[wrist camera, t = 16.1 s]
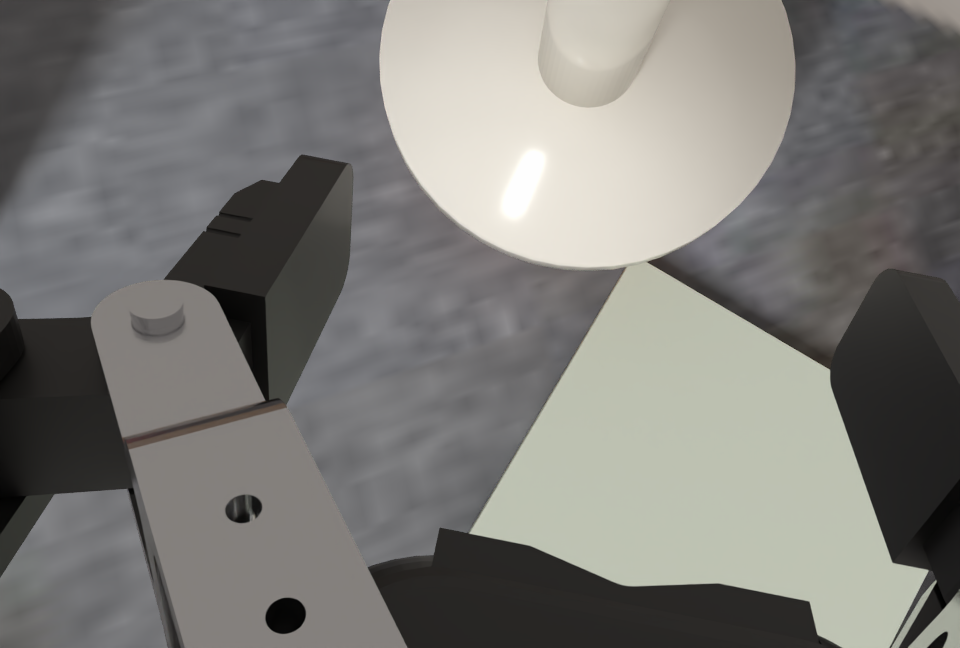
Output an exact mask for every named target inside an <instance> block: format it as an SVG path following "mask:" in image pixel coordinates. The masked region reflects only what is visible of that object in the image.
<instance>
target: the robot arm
mask: <svg viewBox="0 0 960 648" xmlns="http://www.w3.org/2000/svg"><path fill="white" fill-rule="evenodd" d="M352 197H353V169H352V166H351V164H349V163H344V162H339V161H334V160H328V159H323V158H318V157H313V156H307V155H301V156H299V157H298V159H297V160H296V161H295V163H294V164H293V165H292V167H291V168H290V169H289V171H288V172H287V173H286V175H285V176H284V177H283V179H282V180H281V182H280V183H276V182H270V181H265V180H260V181H258V182H256V183H254V184H252V185H250V186H248V187H246V188H244V189H242V190H240V191H239V192H237V193H235V194H234V195H233V196H232V197H231V199H230V200H229V201H228V202H227V203H226V205H225V206H224V207H223V208H222V209H221V211H220V212H219V216H216V217H215V218H214V219H213V220H212V222H211V223H210V224H209V225H208V226H207V230H206V232H205V231H203V232H202V234H201V235H200V236H199V237H198V238H197V240H196V241H195V242H194V243H193V245H192V246H191V247H190V248H189V249H188V251H187V252H186V253H185V254H184V255H183V257H182V258H181V259H180V260H179V261H178V263H177V264H176V265H175V266H174V268H173V269H172V270H171V271H170V272H169V274H168V275H167V276H166V277H165V278H164V280H153V281H145V282H141V283H136V284H133V285H130V286H126V287H124V288H122V289H119V290H117V291H115V292H113V293H112V294H110V295H109V296H107V297H106V298H105V299H103V300H102V301H101V302H100V303H99V304H98V306H97V307H96V308H95V310H94V312H93V314H92V317H84V318H53V319H18V318H17V315H16V311H15V308H14V305H13V301H12V299H11V298H10V296H9V295H8V294H7V293H6V292H5V291H4V290H2V289H0V577H1V576H2V574H3V572H4V571H5V569H6V568H7V566H8V565H9V563H10V562H11V560H12V559H13V557H14V555H15V554H16V552H17V551H18V549H19V548H20V546H21V545H22V543H23V542H24V540H25V539H26V537H27V535H28V534H29V532H30V531H31V529H32V528H33V526H34V525H35V523H36V522H37V520H38V518H39V517H40V515H41V514H42V512H43V511H44V509H45V508H46V506H47V505H48V503H49V502H50V500H51V498H52V497H53V495H54V494H60V493H74V492H87V491H101V490H115V489H127V492H128V496H129V500H130V504H131V507H132V511H133V515H134V518H135V522H136V526H137V530H138V533H139V537H140V541H141V545H142V548H143V552H144V556H145V560H146V563H147V567H148V571H149V574H150V578H151V582H152V586H153V589H154V593H155V597H156V601H157V605H158V608H159V612H160V616H161V621H162V625H163V629H164V633H165V637H166V642H167V646H168V648H842V647H840V646H838V645H837V644H835V643H833V642H831V641H829V640H828V639H825V638H823V637H821V636H819V635H817V631H816V626H815V622H814V618H813V614H812V610H811V605H810V601H805V600H800V599H795V598H790V597H784V596H779V595H774V594H769V593H764V592H759V591H754V590H749V589H744V588H739V587H734V586H729V585H724V584H719V583H712V584H685V585H657V586H625V585H620V584H618V583H615V582H612V581H610V580H608V579H606V578H603V577H601V576H599V575H596V574H594V573H592V572H589V571H587V570H585V569H582V568H580V567H578V566H576V565H573V564H571V563H569V562H566V561H564V560H562V559H559V558H557V557H555V556H553V555H550V554H548V553H546V552H543V551H541V550H539V549H536V548H534V547H532V546H529V545H524V544H519V543H514V542H509V541H504V540H499V539H494V538H489V537H484V536H479V535H474V534H469V533H464V532H459V531H454V530H449V529H444V528H440V529H439V534H438V538H437V543H436V548H435V553H434V555H430V556H413V557H407V558H400V559H394V560H390V561H387V562H383V563H379V564H376V565H372V566H370V567H367V566H366V564H365V562H364V560H363V558H362V556H361V554H360V552H359V550H358V547H357V545H356V543H355V541H354V539H353V537H352V535H351V533H350V531H349V529H348V527H347V525H346V523H345V521H344V519H343V517H342V515H341V513H340V511H339V509H338V507H337V505H336V503H335V501H334V499H333V497H332V495H331V493H330V491H329V489H328V487H327V485H326V483H325V481H324V479H323V477H322V475H321V473H320V471H319V469H318V467H317V465H316V463H315V461H314V459H313V457H312V455H311V453H310V451H309V449H308V447H307V445H306V443H305V441H304V439H303V437H302V435H301V433H300V431H299V429H298V427H297V425H296V423H295V421H294V419H293V417H292V415H291V413H290V411H289V409H288V408H287V406H286V405H287V402H288V400H289V398H290V396H291V394H292V392H293V390H294V388H295V386H296V384H297V382H298V380H299V378H300V376H301V374H302V371H303V369H304V367H305V365H306V363H307V361H308V359H309V357H310V355H311V353H312V351H313V349H314V347H315V345H316V343H317V340H318V338H319V336H320V334H321V332H322V330H323V328H324V326H325V324H326V322H327V320H328V318H329V316H330V314H331V312H332V309H333V307H334V305H335V303H336V301H337V299H338V297H339V295H340V293H341V291H342V288H343V285H344V282H345V279H346V275H347V270H348V265H349V257H350V242H351V220H352ZM830 383H831V388H832V391H833V394H834V397H835V400H836V403H837V406H838V409H839V411H840V414H841V417H842V420H843V423H844V426H845V429H846V432H847V434H848V437H849V440H850V443H851V446H852V449H853V452H854V454H855V457H856V460H857V463H858V466H859V469H860V472H861V474H862V477H863V480H864V483H865V486H866V489H867V492H868V494H869V497H870V500H871V503H872V506H873V509H874V512H875V515H876V517H877V520H878V523H879V526H880V529H881V532H882V535H883V537H884V540H885V543H886V546H887V549H888V552H889V555H890V557H891V560H892V563H895V564H900V565H905V566H910V567H915V568H920V569H925V570H930V571H933V573H934V575H935V578H936V580H935V582H934V583H933V584H932V585H931V586H930V587H929V588H928V590H927V591H926V592H925V593H924V594H923V595H922V597H921V598H920V600H919V602H918V604H917V605H916V607H915V609H914V610H913V612H912V614H911V616H910V617H909V619H908V621H907V622H906V624H905V626H904V627H903V629H902V631H901V633H900V634H899V636H898V638H897V639H896V641H895V643H894V644H893V646H892V648H960V303H959V301H958V300H957V298H956V296H955V295H954V293H953V292H952V290H951V288H950V287H949V285H948V284H947V283H946V281H945V280H943V279H941V278H937V277H932V276H926V275H921V274H916V273H911V272H906V271H900V270H895V269H887V270H885V271H883V272H882V273H881V274H879V275H878V277H877V278H876V279H875V281H874V282H873V284H872V286H871V288H870V289H869V291H868V293H867V295H866V296H865V298H864V300H863V302H862V304H861V305H860V307H859V309H858V311H857V312H856V314H855V316H854V318H853V320H852V321H851V323H850V325H849V327H848V329H847V330H846V332H845V334H844V336H843V337H842V339H841V341H840V343H839V345H838V346H837V348H836V351H835V353H834V356H833V359H832V363H831V370H830Z"/></svg>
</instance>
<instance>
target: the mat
mask: <svg viewBox="0 0 960 648" xmlns="http://www.w3.org/2000/svg"><path fill="white" fill-rule="evenodd" d="M469 534H474V535H479V536H484V537H489V538H494V539H499V540H504V541H509V542H514V543H519V544H524V545H529V546H532V547H534V548H536V549H539V550H541V551H543V552H546V553H548V554H550V555H553V556H555V557H557V558H559V559H562V560H564V561H566V562H569V563H571V564H573V565H576V566H578V567H580V568H582V569H585V570H587V571H589V572H592V573H594V574H596V575H599V576H601V577H603V578H606V579H608V580H610V581H612V582H615V583H618V584H620V585H625V586H657V585H685V584H712V583H719V584H724V585H729V586H734V587H739V588H744V589H749V590H754V591H759V592H764V593H769V594H774V595H779V596H784V597H790V598H795V599H800V600H805V601H810V605H811V610H812V614H813V618H814V622H815V626H816V631H817V635H819V636H821V637H823V638H825V639H828V640H829V641H831V642H833V643H835V644H837V645H838V646H840V647H842V648H889V647H890V645H891V643H892V641H893V639H894V637H895V635H896V633H897V631H898V629H899V627H900V625H901V623H902V622H903V620H904V618H905V616H906V614H907V612H908V610H909V608H910V606H911V604H912V602H913V600H914V598H915V596H916V594H917V592H918V590H919V588H920V586H921V584H922V582H923V580H924V579H925V577H926V575H927V573H928V571H929V570H925V569H920V568H915V567H910V566H905V565H900V564H895V563H892V560H891V557H890V555H889V552H888V549H887V546H886V543H885V540H884V537H883V535H882V532H881V529H880V526H879V523H878V520H877V517H876V515H875V512H874V509H873V506H872V503H871V500H870V497H869V494H868V492H867V489H866V486H865V483H864V480H863V477H862V474H861V472H860V469H859V466H858V463H857V460H856V457H855V454H854V452H853V449H852V446H851V443H850V440H849V437H848V434H847V432H846V429H845V426H844V423H843V420H842V417H841V414H840V411H839V409H838V406H837V403H836V400H835V397H834V394H833V391H832V388H831V383H830V370H829V369H828V368H826V367H824V366H822V365H821V364H819V363H817V362H816V361H814V360H812V359H811V358H809V357H807V356H805V355H804V354H802V353H800V352H799V351H797V350H795V349H793V348H792V347H790V346H788V345H787V344H785V343H783V342H782V341H780V340H778V339H776V338H775V337H773V336H771V335H770V334H768V333H766V332H765V331H763V330H761V329H759V328H758V327H756V326H754V325H753V324H751V323H749V322H748V321H746V320H744V319H742V318H741V317H739V316H737V315H736V314H734V313H732V312H731V311H729V310H727V309H725V308H724V307H722V306H720V305H719V304H717V303H715V302H714V301H712V300H710V299H708V298H707V297H705V296H703V295H702V294H700V293H698V292H697V291H695V290H693V289H691V288H690V287H688V286H686V285H685V284H683V283H681V282H680V281H678V280H676V279H674V278H673V277H671V276H669V275H668V274H666V273H664V272H663V271H661V270H659V269H657V268H656V267H654V266H652V265H651V264H649V263H647V262H645V263H641V264H638V265H634V266H628V267H625V269H624V271H623V272H622V274H621V276H620V278H619V279H618V281H617V283H616V284H615V286H614V288H613V289H612V291H611V293H610V294H609V296H608V298H607V300H606V301H605V303H604V305H603V306H602V308H601V310H600V311H599V313H598V315H597V316H596V318H595V320H594V321H593V323H592V325H591V327H590V328H589V330H588V332H587V333H586V335H585V337H584V338H583V340H582V342H581V343H580V345H579V347H578V348H577V350H576V352H575V354H574V355H573V357H572V359H571V360H570V362H569V364H568V365H567V367H566V369H565V370H564V372H563V374H562V376H561V377H560V379H559V381H558V382H557V384H556V386H555V387H554V389H553V391H552V392H551V394H550V396H549V397H548V399H547V401H546V403H545V404H544V406H543V408H542V409H541V411H540V413H539V414H538V416H537V418H536V419H535V421H534V423H533V424H532V426H531V428H530V430H529V431H528V433H527V435H526V436H525V438H524V440H523V441H522V443H521V445H520V446H519V448H518V450H517V452H516V453H515V455H514V457H513V458H512V460H511V462H510V463H509V465H508V467H507V468H506V470H505V472H504V473H503V475H502V477H501V479H500V480H499V482H498V484H497V485H496V487H495V489H494V490H493V492H492V494H491V495H490V497H489V499H488V500H487V502H486V504H485V506H484V507H483V509H482V511H481V512H480V514H479V516H478V517H477V519H476V521H475V522H474V524H473V526H472V528H471V529H470V531H469Z"/></svg>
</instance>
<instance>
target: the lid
mask: <svg viewBox="0 0 960 648" xmlns="http://www.w3.org/2000/svg"><path fill="white" fill-rule="evenodd" d="M379 57H380V83H381V88H382V94H383V100H384V105H385V110H386V113H387V117H388V121H389V124H390V127H391V130H392V133H393V136H394V139H395V142H396V145H397V147H398V150H399V152H400V154H401V156H402V158H403V160H404V162H405V164H406V166H407V168H408V170H409V171H410V173H411V174H412V176H413V177H414V179H415V180H416V182H417V184H418V185H419V187H420V188H421V190H422V191H423V192H424V193H425V194H426V196H427V197H428V198H429V199H430V200H431V201H432V202H433V204H434V205H435V206H436V207H437V208H438V209H439V210H440V211H441V212H442V213H443V214H444V215H445V216H446V217H448V218H449V219H450V220H451V221H452V222H453V223H454V224H456V225H457V226H458V227H459V228H460V229H462V230H463V231H465V232H466V233H468V234H469V235H471V236H472V237H474V238H475V239H477V240H478V241H480V242H481V243H483V244H485V245H487V246H489V247H491V248H493V249H495V250H497V251H499V252H501V253H503V254H505V255H508V256H511V257H514V258H517V259H520V260H522V261H525V262H528V263H531V264H536V265H541V266H546V267H550V268H555V269H565V270H577V271H594V270H612V269H617V268H623V267H628V266H634V265H638V264H641V263H645V262H648V261H651V260H654V259H657V258H660V257H663V256H665V255H667V254H669V253H671V252H674V251H676V250H678V249H680V248H682V247H684V246H686V245H688V244H689V243H691V242H692V241H694V240H696V239H697V238H699V237H700V236H702V235H703V234H705V233H706V232H708V231H709V230H710V229H712V228H713V227H714V226H715V225H716V224H718V223H719V222H720V221H721V220H722V219H724V218H725V217H726V216H727V215H728V214H729V213H731V212H732V211H733V210H734V209H735V208H736V207H737V206H739V205H740V204H741V202H742V201H743V200H744V199H745V198H746V197H747V196H748V194H749V193H750V192H751V191H752V190H753V189H754V188H755V186H756V185H757V184H758V182H759V181H760V179H761V178H762V176H763V175H764V173H765V172H766V170H767V169H768V167H769V166H770V164H771V163H772V161H773V158H774V156H775V154H776V152H777V150H778V148H779V146H780V144H781V142H782V140H783V136H784V133H785V130H786V127H787V124H788V121H789V117H790V114H791V108H792V102H793V96H794V90H795V55H794V46H793V37H792V33H791V29H790V25H789V21H788V17H787V13H786V11H785V8H784V5H783V3H782V0H390V2H389V5H388V8H387V13H386V17H385V21H384V25H383V29H382V36H381V46H380V56H379Z"/></svg>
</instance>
